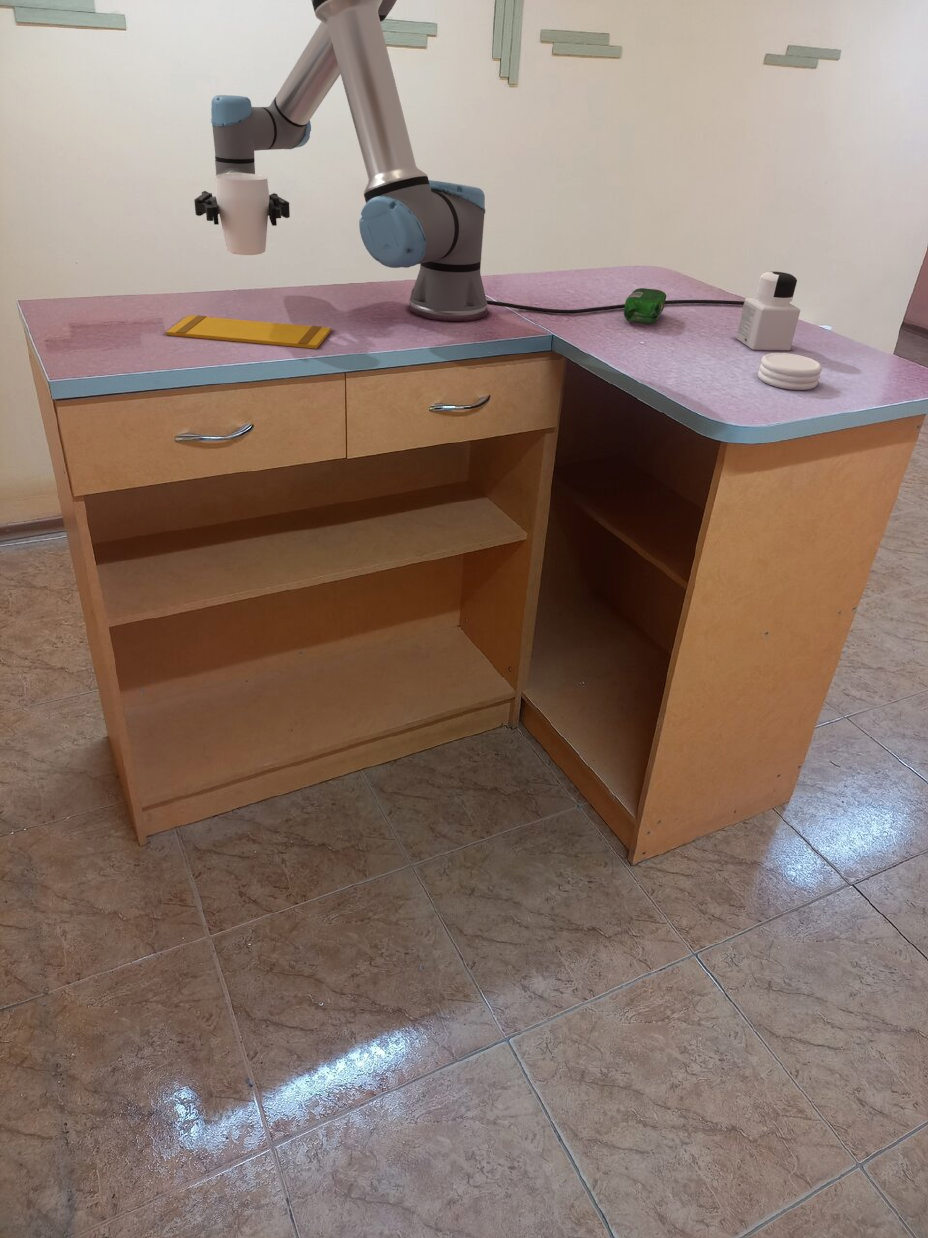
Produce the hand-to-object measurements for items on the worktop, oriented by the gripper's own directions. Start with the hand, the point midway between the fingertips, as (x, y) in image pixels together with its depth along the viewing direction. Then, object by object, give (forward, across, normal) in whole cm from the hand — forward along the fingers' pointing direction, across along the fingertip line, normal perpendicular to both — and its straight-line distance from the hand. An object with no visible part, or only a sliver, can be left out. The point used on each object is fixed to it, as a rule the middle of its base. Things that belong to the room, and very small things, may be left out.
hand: (245, 216), depth 152 cm
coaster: (+37, -87, -18) cm, 96 cm away
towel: (+6, +1, -18) cm, 19 cm away
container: (+17, -94, -18) cm, 98 cm away
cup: (-5, 0, -7) cm, 8 cm away
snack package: (-1, -77, -18) cm, 79 cm away
